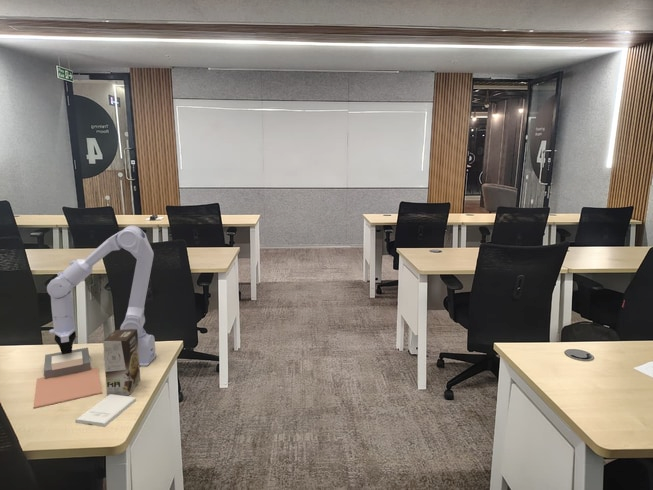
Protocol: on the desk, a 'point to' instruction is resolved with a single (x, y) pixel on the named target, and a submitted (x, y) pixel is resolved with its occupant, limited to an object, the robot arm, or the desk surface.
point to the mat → (67, 388)
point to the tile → (67, 360)
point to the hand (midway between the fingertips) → (67, 356)
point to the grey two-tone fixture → (68, 370)
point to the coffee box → (121, 362)
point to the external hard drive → (106, 410)
